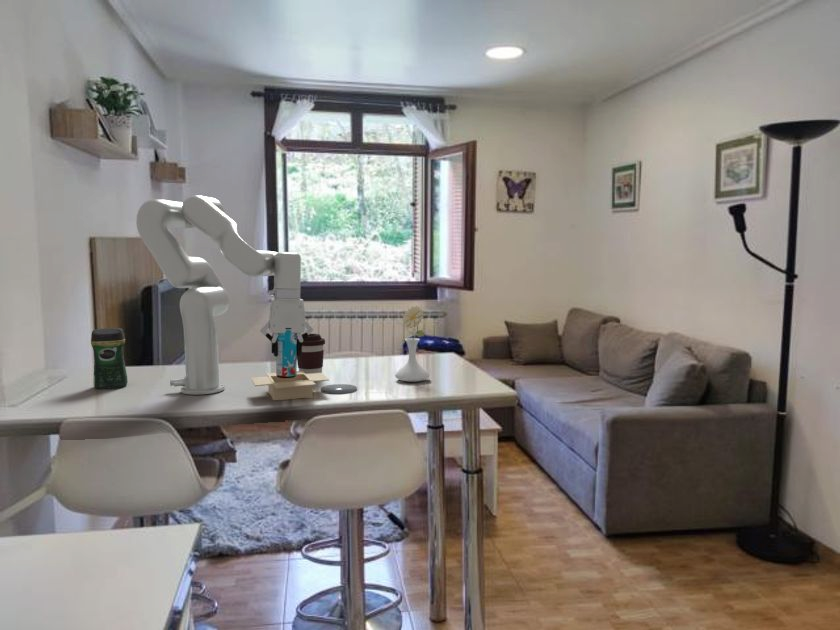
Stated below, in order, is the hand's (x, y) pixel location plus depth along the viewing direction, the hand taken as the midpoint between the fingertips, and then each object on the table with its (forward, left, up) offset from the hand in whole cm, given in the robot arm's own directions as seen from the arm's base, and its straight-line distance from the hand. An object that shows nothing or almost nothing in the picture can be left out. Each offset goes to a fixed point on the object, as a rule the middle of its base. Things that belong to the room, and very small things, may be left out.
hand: (286, 354), depth 181 cm
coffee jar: (-50, +32, -12) cm, 61 cm away
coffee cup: (+11, +20, -12) cm, 25 cm away
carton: (+1, 0, -12) cm, 12 cm away
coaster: (+16, +1, -12) cm, 20 cm away
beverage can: (0, 0, -7) cm, 7 cm away
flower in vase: (+42, +5, -12) cm, 44 cm away
